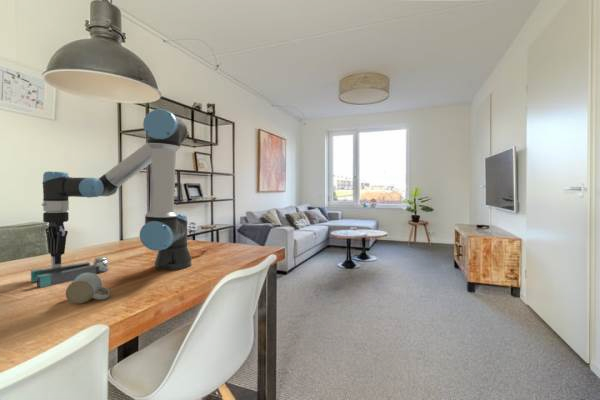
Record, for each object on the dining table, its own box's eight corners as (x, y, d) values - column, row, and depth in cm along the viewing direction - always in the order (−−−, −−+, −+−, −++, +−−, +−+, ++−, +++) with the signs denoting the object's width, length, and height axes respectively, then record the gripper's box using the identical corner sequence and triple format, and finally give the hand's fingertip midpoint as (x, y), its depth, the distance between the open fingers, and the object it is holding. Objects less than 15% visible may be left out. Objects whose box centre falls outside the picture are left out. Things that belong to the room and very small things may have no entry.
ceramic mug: (63, 306, 84) (63, 280, 84) (73, 297, 92) (73, 273, 92) (106, 302, 88) (106, 277, 88) (112, 293, 96) (112, 270, 96)
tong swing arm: (103, 268, 124) (103, 255, 124) (107, 270, 120) (107, 258, 120) (30, 280, 107) (30, 266, 107) (32, 284, 103) (32, 269, 103)
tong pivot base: (104, 269, 124) (103, 258, 123) (112, 271, 121) (111, 260, 120) (32, 284, 103) (32, 272, 103) (40, 287, 100) (39, 275, 100)
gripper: (36, 211, 112) (37, 271, 113) (51, 213, 106) (51, 277, 107) (60, 210, 118) (60, 267, 119) (75, 212, 112) (75, 272, 113)
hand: (56, 272), depth 113 cm, fingers closed
